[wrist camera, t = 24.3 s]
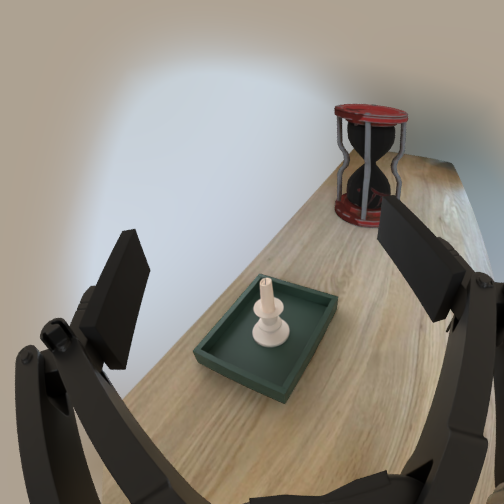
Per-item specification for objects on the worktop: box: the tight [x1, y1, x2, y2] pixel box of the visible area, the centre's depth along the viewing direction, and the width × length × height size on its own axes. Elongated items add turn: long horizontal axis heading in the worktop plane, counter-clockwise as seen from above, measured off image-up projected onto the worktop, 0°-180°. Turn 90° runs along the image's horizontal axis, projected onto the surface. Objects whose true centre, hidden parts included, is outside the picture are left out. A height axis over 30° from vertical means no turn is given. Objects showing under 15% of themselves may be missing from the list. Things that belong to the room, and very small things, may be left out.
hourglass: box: [334, 104, 408, 228], centre depth 60 cm, size 16×16×25 cm
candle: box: [252, 278, 289, 347], centre depth 38 cm, size 5×5×10 cm
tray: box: [193, 274, 338, 404], centre depth 40 cm, size 18×14×3 cm
